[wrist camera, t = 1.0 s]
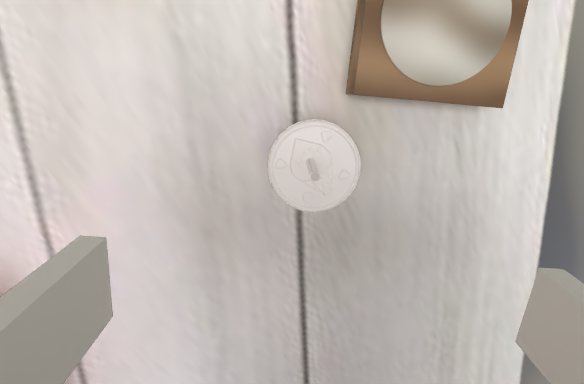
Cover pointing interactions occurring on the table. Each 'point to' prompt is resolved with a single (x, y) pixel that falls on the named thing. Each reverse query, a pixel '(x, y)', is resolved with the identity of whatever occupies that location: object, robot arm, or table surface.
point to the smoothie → (314, 165)
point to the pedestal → (435, 49)
